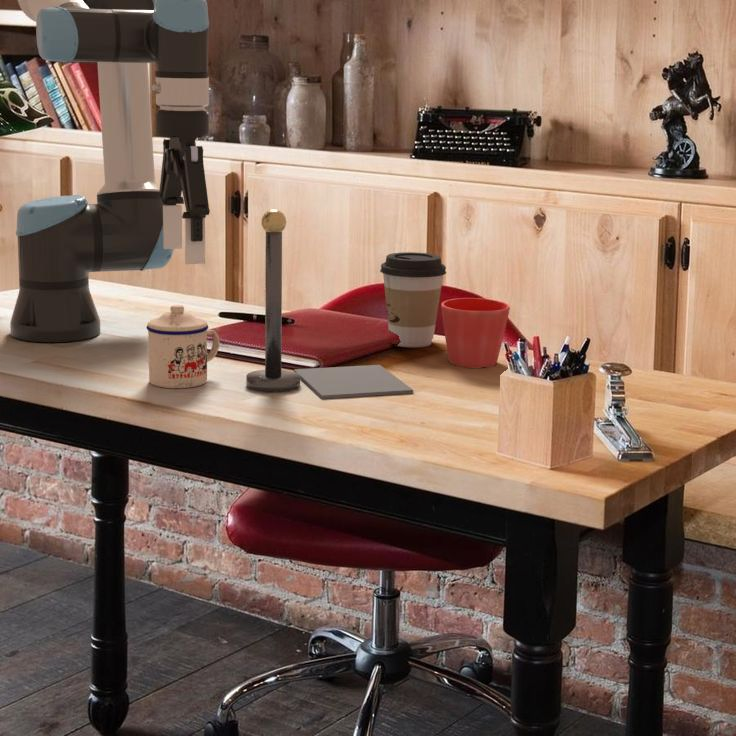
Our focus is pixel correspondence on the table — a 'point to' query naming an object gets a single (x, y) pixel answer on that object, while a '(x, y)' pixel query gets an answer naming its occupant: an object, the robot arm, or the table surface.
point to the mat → (352, 381)
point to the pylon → (273, 314)
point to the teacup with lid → (179, 349)
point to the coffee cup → (412, 295)
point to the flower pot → (474, 330)
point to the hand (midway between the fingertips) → (183, 256)
